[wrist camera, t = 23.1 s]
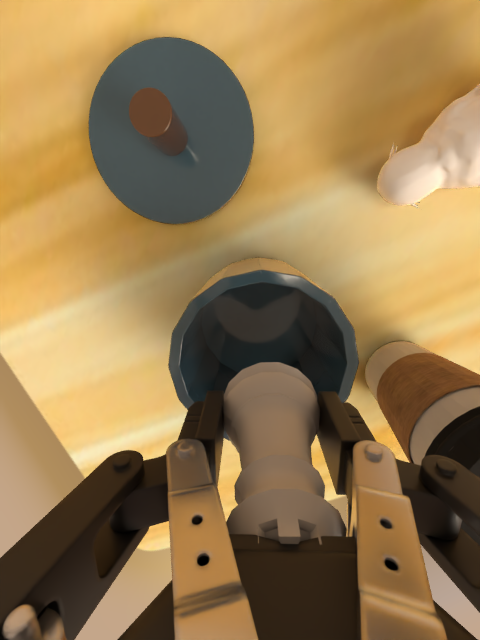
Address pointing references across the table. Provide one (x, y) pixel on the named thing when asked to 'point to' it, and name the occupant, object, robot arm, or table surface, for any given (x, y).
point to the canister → (261, 331)
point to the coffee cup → (428, 405)
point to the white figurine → (437, 156)
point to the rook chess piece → (277, 456)
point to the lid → (171, 130)
